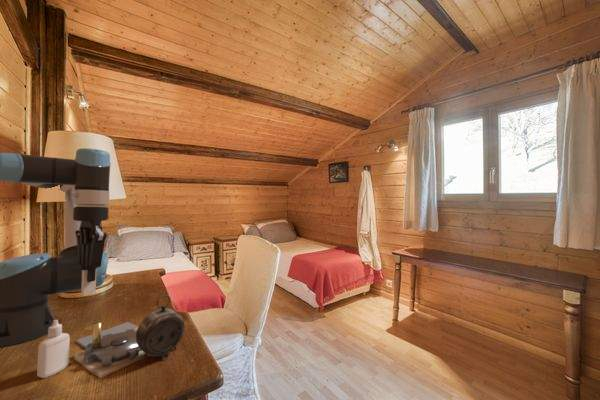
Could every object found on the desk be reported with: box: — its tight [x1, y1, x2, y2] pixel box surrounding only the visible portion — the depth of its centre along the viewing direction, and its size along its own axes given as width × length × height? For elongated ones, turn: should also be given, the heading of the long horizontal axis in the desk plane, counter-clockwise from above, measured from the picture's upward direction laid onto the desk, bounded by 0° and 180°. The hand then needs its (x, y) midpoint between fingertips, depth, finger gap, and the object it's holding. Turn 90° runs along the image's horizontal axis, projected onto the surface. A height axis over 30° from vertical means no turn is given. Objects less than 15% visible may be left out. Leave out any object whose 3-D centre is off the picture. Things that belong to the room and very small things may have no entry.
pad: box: [75, 321, 139, 349], centre depth 79 cm, size 8×14×1 cm, turn 149°
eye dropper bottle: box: [36, 319, 71, 379], centre depth 62 cm, size 4×6×12 cm
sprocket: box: [84, 321, 142, 366], centre depth 70 cm, size 15×15×8 cm
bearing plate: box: [72, 349, 149, 379], centre depth 70 cm, size 15×15×1 cm
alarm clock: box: [136, 294, 186, 363], centre depth 69 cm, size 11×5×16 cm, turn 139°
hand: (88, 292), depth 71 cm, fingers closed
